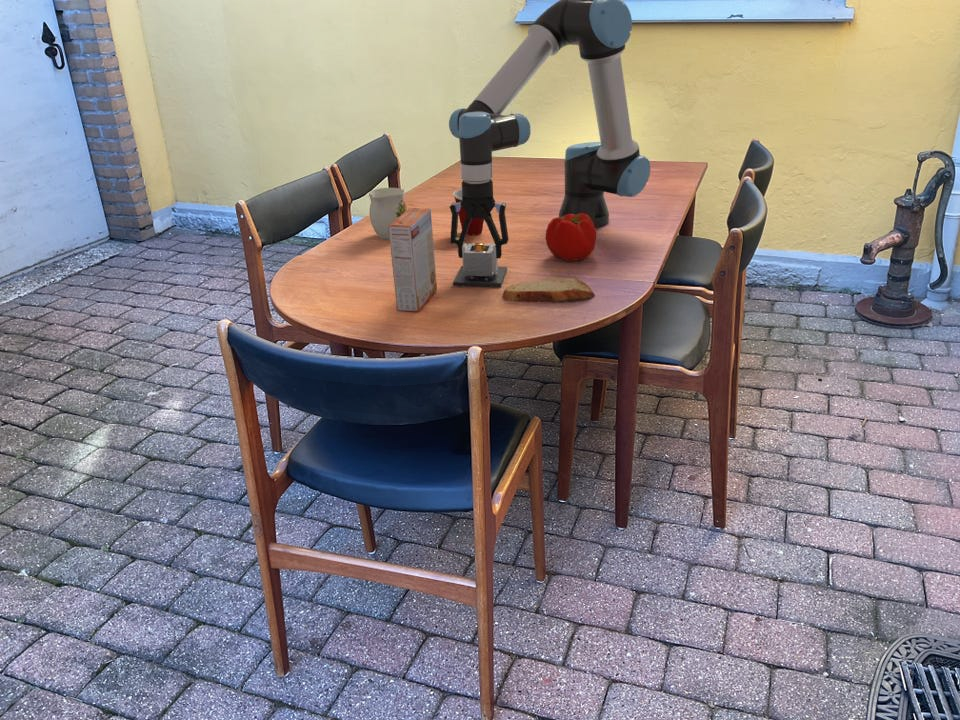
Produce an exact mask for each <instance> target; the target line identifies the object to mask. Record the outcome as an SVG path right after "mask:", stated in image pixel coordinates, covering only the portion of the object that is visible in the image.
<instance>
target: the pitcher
mask: <svg viewBox="0 0 960 720" xmlns="http://www.w3.org/2000/svg"><path fill="white" fill-rule="evenodd" d="M368 196H369V198H370V199H369V200H370V203H369V219H370V223H371V227H372V228H373V230H374V232H375V234H376V235H377V236H378V238H380V239H382V240H390V238H389V229H388V226H389V225H390V224H391V223H392V222H394V221H395V220H396V219H397V218H398V217H399V216H401V215H402V214H403V213H404V212H405V211H406V210H408V208H407V204H406V202H405V190H404V189H402V188H398V187H381V188H376V189H373V190H372V189H371V191H369V192H368Z"/></svg>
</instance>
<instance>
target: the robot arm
mask: <svg viewBox="0 0 960 720" xmlns="http://www.w3.org/2000/svg"><path fill="white" fill-rule="evenodd" d="M632 30H633V19H632V14H631V11H630V9H629V7H628V5H627V4H626V2H624V1H622V0H558V1H557V2H555V3H554V4H551V6H550V7H548V8H546V10H544V11H543V12H542V14H540V15H539V16H538V17H537V18H536V19H535V21H534V22H533V23H532V24H531V25H530V26H529V28H528V30H527V36H526V37H525V39H523V40H522V42H521V43H520V44H519V46H517V48H516V49H515V50H514V52H513V53H512V54H511V56H509V58H507V60H506V61H505V62H504V63H503V65H502V66H501V67H500V68H499V69H498V71H497V72H496V73H494V75H493V77H492V78H491V79H490V80H489V81H488V82H487V84H486V85H485V87H484V88H482V90H481V91H480V92H479V94H478V95H477V96H476V97H475V98H474V100H472V102H471V103H470V104H469V105H468V106H467V108H458V109H456V110H454V111H453V112H452V113H451V115H450V117H449V120H448V128H449V131H450V134H451V135H452V136H453V137H455V138H457V139H458V140H459V154H460V158H459V159H460V178H461V179H462V182H461V189H462V201H461V202H459V203H456V201H455V202H454V201H453V202H452V203H451V205H450V206H449V209H450V212H451V225H450V226H451V227H450V239H449V241H450V244H452V245H453V244H454V245H456V246H457V255H458V258H459V259H462V266H463V271H464V251H465V249H466V247H467V245H468V244H467V243H465V239H466V237H467V235H466V234H467V231H468V228H469V225H470V222H471V219H472V218H474V219H475V218H481V219H484V222H485V223H486V225H487V228H488V230H489V232H490V235H491V237H492V240H493V242H494V243H493V244H494V245H493V270H494V272H497V269H498V265H499V262H498V261H499V259H501V257H502V254H503V253H502V246H503V245H507V244H508V242H509V232H508V226H507V218H506V207H507V204H506V202H501V203H500V202H496V200H495V198H494V183H493V180H492V178H493V174H494V173H493V152H497V151H500V150H505V149H511V148H516V147H518V146H521V145H524V144H526V143H527V142H528V141H529V139H530V136H531V133H532V132H531V131H532V130H531V123H530V120H529V119H528V118H527V117H526V116H525V115H524V114H522V113H510V114H507V115H506V114H504V115H503V113H504V111H505V110H506V108H508V106H509V105H510V104H511V103H512V101H514V99H515V98H516V97H517V96H518V94H520V92H521V91H522V90H523V88H524V87H525V86H526V85H527V84H528V83H529V81H530V80H531V79H532V77H533V76H534V75H535V74H536V73H537V72H538V70H539V69H540V68H541V67H542V65H544V63H545V62H546V60H547V59H548V58H549V57H552V56H555V55H557V53H558V52H559V51H560V50H561V49H562V48H564V47H566V46H570V45H572V46H573V45H574V46H578V50H579V56H580V59H581V60H583V61H585V63H587V67H588V74H589V80H590V86H591V92H592V97H593V105H594V111H595V117H596V123H597V129H598V135H599V141H589V142H582V143H576V144H572V145H569V146H568V147H566V149H565V157H564V196H563V197H564V198H563V201H562V202H561V206H560V209H559V212H558V217H559V218H561V217H563V216H565V215H567V214H575V215H576V214H578V215H579V214H580V213H584V214H587V215H589V217H590V219H591V220H592V221H593V222H594V226H595V228H596V227H597V228H598V227H601V226H605V225H606V224H609V221H610V213H609V208H608V205H607V202H606V199H605V196H604V195H605V193H608V194H613V195H616V196H617V195H618V197H628V198H634V197H636V196H637V195H639V194H640V193H642V191H644V189H645V187H646V186H647V183H648V181H649V179H650V175H651V162H650V160H649V158H647V157H646V156H645V155H641V154H640V153H641V152H640V147H639V146H640V145H639V143H638V142H637V141H635V140H634V139H633V137H632V130H631V129H632V127H631V123H630V113H629V107H628V102H627V101H628V99H627V92H626V86H625V85H626V84H625V79H624V72H623V66H622V57H621V56H622V53H623V52H624V51H625V49H626V44H627V42H628V41H629V39H630V37H631V31H632ZM460 207H462V208H463V209H464V211H465V212H466V213H467V216H466V219H465V223H464V226H463V229H462V228H461V231H460V235H459V237H458V227H459V226H458V225H459V214H458V212H459V211H460ZM494 208H495V209H496V212H497V213H498V221H499V227H500V233H501V234H499V231H498V229H497V227H496V224H495V221H494V219H493V215H492V213H491V212H492V211H493V209H494ZM500 235H501V236H500Z"/></svg>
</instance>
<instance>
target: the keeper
mask: <svg viewBox="0 0 960 720" xmlns="http://www.w3.org/2000/svg"><path fill="white" fill-rule="evenodd" d="M474 244H475V251H485V250H484V244H485V243H484V242H475V243H474ZM507 272H508V266H498V269H497V272H494V273H493V276H465V272H464V271H463V265H461V266H460V268H459V270H458V272H457V274H456V275H455V278H454V280H453V282H452V286H453V287H471V288H472V287H473V288H475V287H478V288H479V287H481V288H484V287H485V288H502V286H503V283H504V281H505V278H506V274H507Z"/></svg>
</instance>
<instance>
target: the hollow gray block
mask: <svg viewBox="0 0 960 720" xmlns="http://www.w3.org/2000/svg"><path fill="white" fill-rule="evenodd" d="M494 244H495V243H484V250H485V251H475V243H468V244H467V247H466V249H465V251H464V272H465V276H493V273H494V270H493V245H494Z"/></svg>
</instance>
